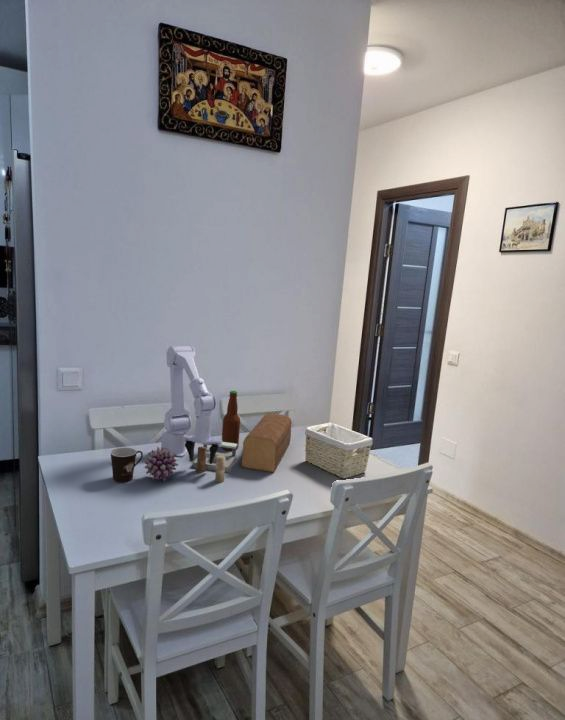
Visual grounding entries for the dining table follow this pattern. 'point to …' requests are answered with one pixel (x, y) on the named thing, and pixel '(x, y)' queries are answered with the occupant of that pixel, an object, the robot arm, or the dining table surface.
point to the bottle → (231, 422)
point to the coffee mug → (123, 463)
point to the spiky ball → (161, 463)
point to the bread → (267, 443)
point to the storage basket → (337, 449)
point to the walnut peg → (201, 459)
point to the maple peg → (220, 468)
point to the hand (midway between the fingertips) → (201, 461)
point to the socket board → (229, 458)
